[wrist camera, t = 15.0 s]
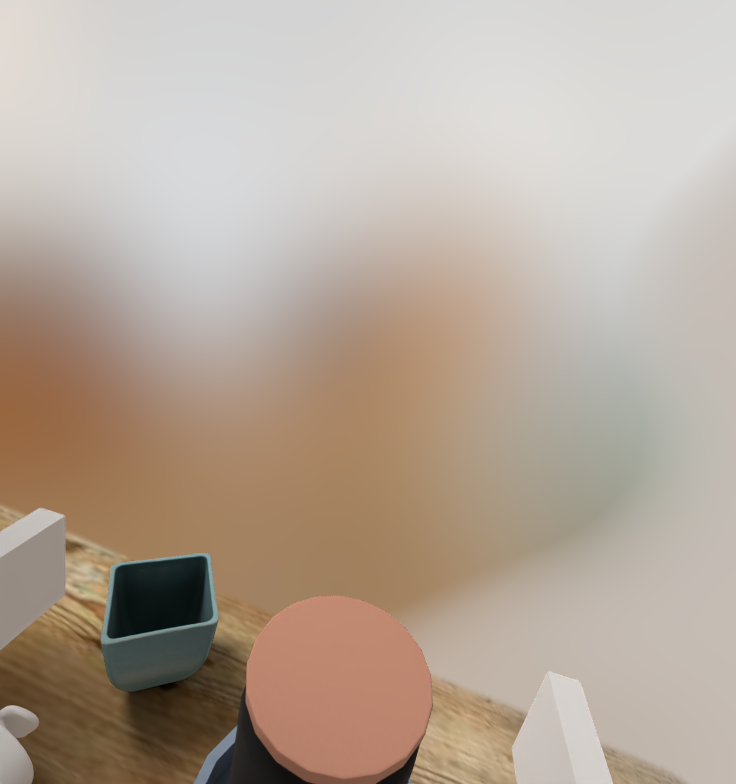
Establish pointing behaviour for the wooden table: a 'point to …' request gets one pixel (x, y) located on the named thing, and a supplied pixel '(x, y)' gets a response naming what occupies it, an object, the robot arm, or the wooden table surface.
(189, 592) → the flower pot
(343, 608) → the coffee jar
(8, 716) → the elephant figurine
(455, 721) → the wooden table surface
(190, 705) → the wooden table surface
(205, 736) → the wooden table surface
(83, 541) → the wooden table surface
